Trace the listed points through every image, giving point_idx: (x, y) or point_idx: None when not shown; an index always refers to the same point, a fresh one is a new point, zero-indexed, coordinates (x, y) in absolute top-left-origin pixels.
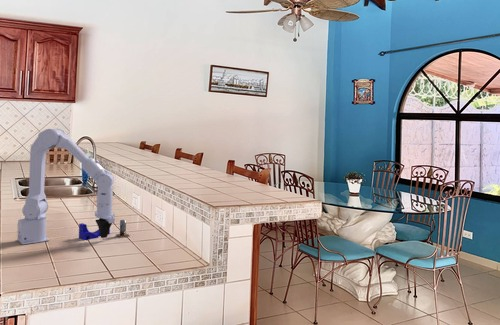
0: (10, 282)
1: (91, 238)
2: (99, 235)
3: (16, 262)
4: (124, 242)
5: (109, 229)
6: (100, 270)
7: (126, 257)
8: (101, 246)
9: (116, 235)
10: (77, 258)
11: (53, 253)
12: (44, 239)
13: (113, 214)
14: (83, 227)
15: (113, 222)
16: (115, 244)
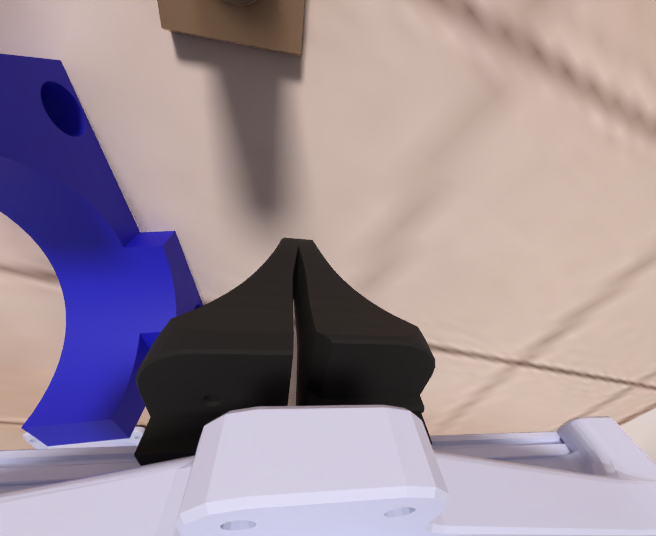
0: None
1: (194, 289)
2: (123, 208)
3: None
4: (466, 134)
5: (4, 63)
6: (604, 396)
7: (651, 295)
8: (401, 306)
9: (182, 33)
10: (452, 408)
11: None
12: (130, 441)
13: (426, 500)
14: (139, 410)
15: (603, 433)
16: (442, 225)
